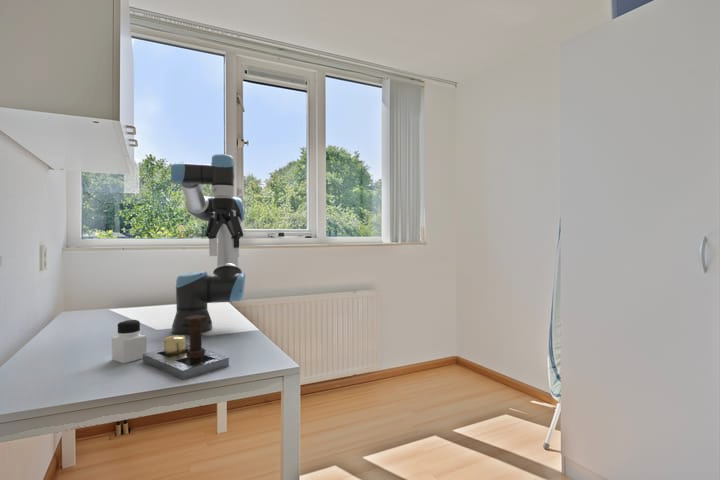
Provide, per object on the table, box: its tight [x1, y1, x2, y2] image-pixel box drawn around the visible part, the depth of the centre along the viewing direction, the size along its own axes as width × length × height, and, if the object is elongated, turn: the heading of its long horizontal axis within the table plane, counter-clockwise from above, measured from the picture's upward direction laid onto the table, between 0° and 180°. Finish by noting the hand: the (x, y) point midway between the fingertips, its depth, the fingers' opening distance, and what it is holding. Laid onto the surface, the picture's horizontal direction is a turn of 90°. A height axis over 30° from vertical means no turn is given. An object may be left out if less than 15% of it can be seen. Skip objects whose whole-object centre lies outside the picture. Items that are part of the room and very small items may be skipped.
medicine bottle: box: [111, 319, 147, 364], centre depth 125 cm, size 7×7×12 cm
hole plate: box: [142, 334, 230, 381], centre depth 119 cm, size 24×14×7 cm, turn 52°
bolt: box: [185, 315, 206, 366], centre depth 116 cm, size 6×5×15 cm
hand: (223, 256), depth 144 cm, fingers open, 13 cm apart
